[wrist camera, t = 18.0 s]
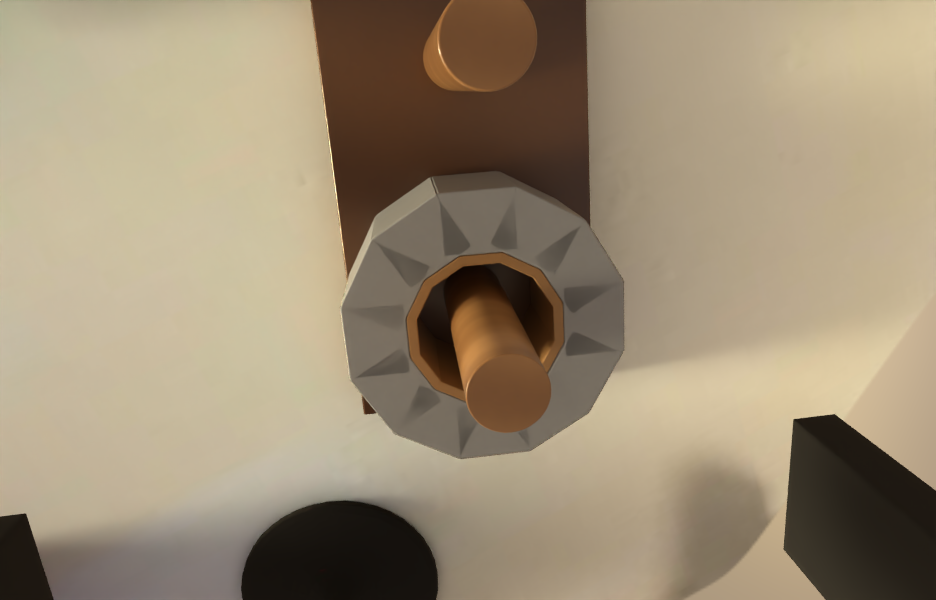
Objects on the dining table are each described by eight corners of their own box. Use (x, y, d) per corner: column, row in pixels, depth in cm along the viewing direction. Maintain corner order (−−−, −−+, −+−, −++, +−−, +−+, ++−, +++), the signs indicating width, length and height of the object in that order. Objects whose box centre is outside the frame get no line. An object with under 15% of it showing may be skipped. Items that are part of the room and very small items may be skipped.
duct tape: (367, 414, 32) (361, 470, 28) (337, 184, 29) (325, 202, 24) (592, 390, 33) (625, 440, 28) (588, 162, 30) (623, 176, 25)
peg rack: (304, -76, 28) (232, -202, 16) (574, -92, 28) (701, -224, 16) (365, 400, 34) (347, 570, 22) (585, 377, 35) (683, 528, 23)
